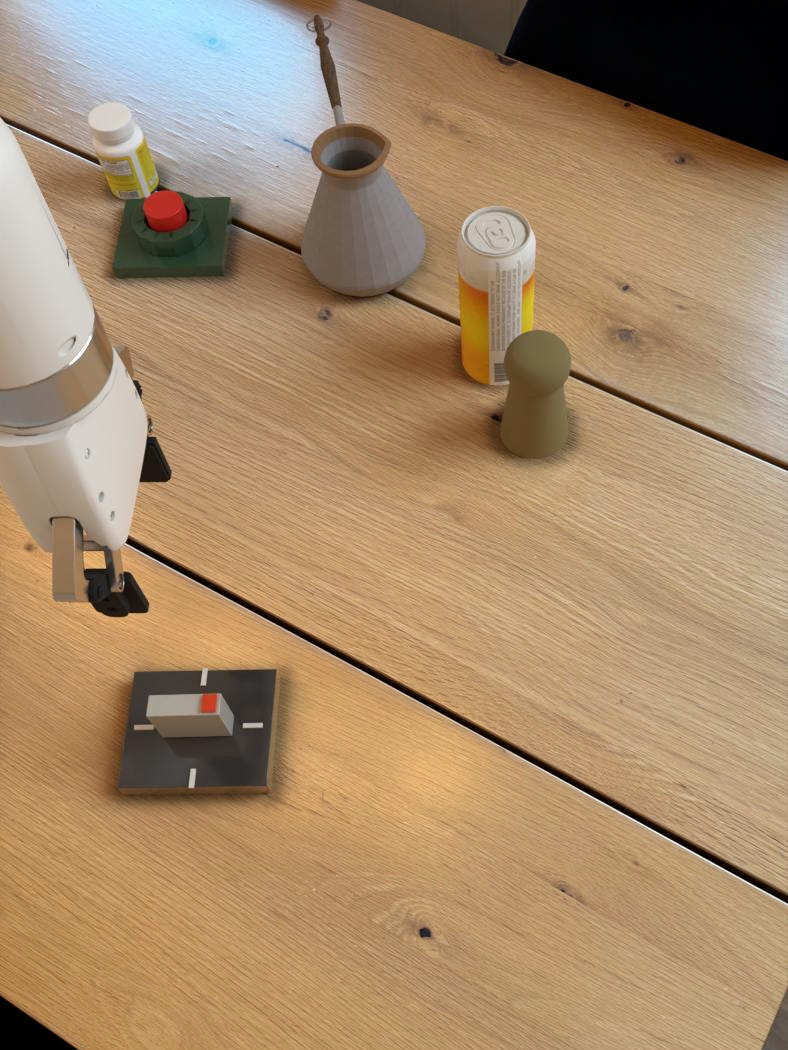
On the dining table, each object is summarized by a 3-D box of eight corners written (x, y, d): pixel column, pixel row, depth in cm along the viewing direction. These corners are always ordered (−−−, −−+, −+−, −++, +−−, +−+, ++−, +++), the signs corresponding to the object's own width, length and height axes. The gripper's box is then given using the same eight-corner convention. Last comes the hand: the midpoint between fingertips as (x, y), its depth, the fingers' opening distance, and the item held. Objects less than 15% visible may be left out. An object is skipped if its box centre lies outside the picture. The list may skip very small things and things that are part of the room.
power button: (146, 234, 96) (140, 218, 95) (151, 206, 98) (145, 190, 96) (185, 233, 96) (180, 217, 94) (189, 205, 98) (184, 189, 96)
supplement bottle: (146, 168, 105) (118, 91, 98) (171, 193, 104) (145, 117, 96) (104, 190, 104) (73, 114, 96) (129, 216, 102) (99, 140, 95)
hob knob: (162, 738, 75) (144, 715, 71) (165, 717, 76) (147, 693, 72) (232, 736, 75) (218, 713, 71) (234, 715, 76) (220, 691, 72)
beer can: (515, 331, 95) (518, 193, 81) (541, 380, 92) (548, 246, 79) (452, 350, 94) (444, 214, 80) (477, 400, 91) (473, 268, 78)
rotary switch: (127, 800, 75) (115, 788, 73) (144, 684, 80) (133, 669, 77) (273, 798, 75) (266, 786, 73) (283, 681, 80) (276, 666, 77)
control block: (119, 286, 98) (105, 252, 95) (133, 217, 102) (119, 182, 99) (226, 283, 98) (216, 250, 94) (235, 215, 102) (226, 180, 98)
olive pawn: (557, 474, 88) (564, 386, 78) (488, 456, 89) (487, 367, 79) (578, 419, 90) (587, 327, 80) (511, 402, 91) (512, 309, 81)
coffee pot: (439, 300, 97) (429, 160, 83) (316, 323, 96) (286, 185, 82) (395, 147, 106) (380, -1, 93) (282, 166, 105) (251, 19, 92)
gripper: (-8, 227, 55) (101, 431, 70) (-91, 503, 47) (51, 664, 63) (134, 227, 55) (212, 431, 70) (75, 503, 47) (177, 665, 63)
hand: (136, 541), depth 67 cm, fingers open, 9 cm apart
